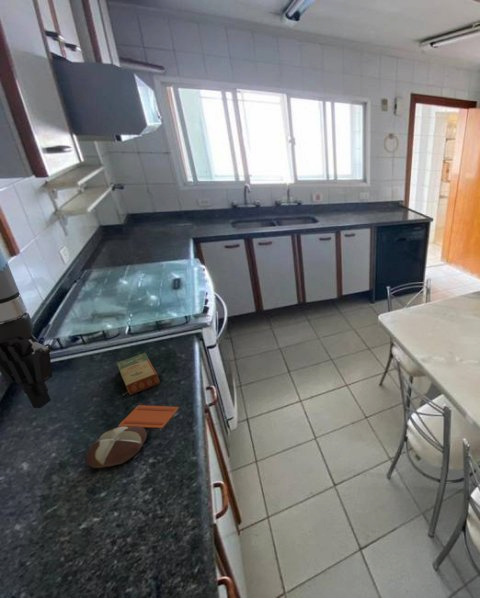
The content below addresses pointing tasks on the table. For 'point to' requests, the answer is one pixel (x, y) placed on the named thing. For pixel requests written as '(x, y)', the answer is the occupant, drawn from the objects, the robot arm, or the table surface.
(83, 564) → the table surface
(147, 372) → the carton
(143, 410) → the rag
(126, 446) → the bread
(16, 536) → the table surface
